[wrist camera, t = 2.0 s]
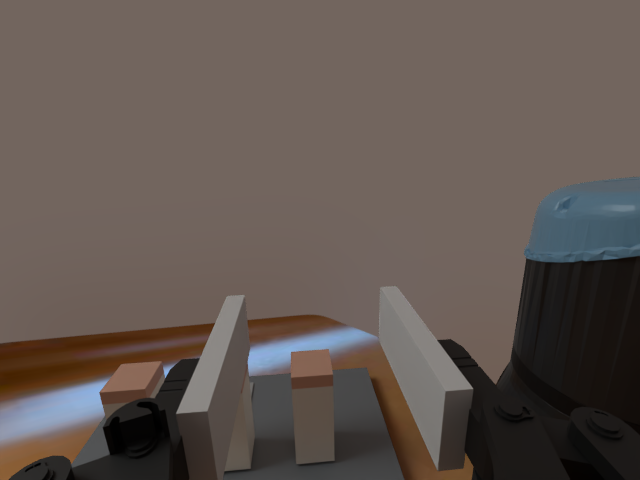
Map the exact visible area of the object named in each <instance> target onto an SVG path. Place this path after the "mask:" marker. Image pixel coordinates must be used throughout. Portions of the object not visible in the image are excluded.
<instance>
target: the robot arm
mask: <svg viewBox="0 0 640 480" xmlns="http://www.w3.org/2000/svg"><path fill="white" fill-rule="evenodd" d="M524 255H525V256H526V265H525V272H524V278H523V284H522V291H521V298H520V304H519V311H518V317H517V323H516V329H515V335H514V342H513V348H512V354H511V360H510V362H509V364H508V365H507V367H506V368H505V370H504V371H503V373H502V375H501V376H500V378H499V380H498V382H497V384H496V385H495V384H494V383H493V382H492V380H491V379H490V378H489V377H488V376H487V375H486V373H485V372H484V371H483V370H482V369H481V367H478V364H477V363H476V362H475V360H474V359H472V358H471V356H470V355H469V353H468V352H467V351H466V350H465V349H464V348H463V347H462V346H461V345H459V344H457V343H456V342H454V341H453V340H451V339H448V340H436V338H435V337H434V336H433V334H432V333H431V332H430V330H429V329H428V328H427V326H426V325H425V324H424V322H423V321H422V320H421V318H420V317H419V316H418V314H417V313H416V312H415V310H414V309H413V308H412V306H411V305H410V303H409V302H408V301H407V300H406V298H405V297H404V296H403V294H402V293H401V291H400V290H399V289H398V287H397V286H390V287H380V311H379V341H380V344H381V346H382V348H383V350H384V353H385V355H386V357H387V359H388V361H389V364H390V366H391V368H392V370H393V373H394V375H395V377H396V379H397V382H398V384H399V386H400V388H401V390H402V393H403V395H404V397H405V399H406V402H407V404H408V406H409V408H410V411H411V413H412V415H413V417H414V419H415V422H416V424H417V426H418V428H419V431H420V433H421V435H422V437H423V440H424V442H425V444H426V446H427V448H428V451H429V453H430V455H431V457H432V460H433V462H434V464H435V466H436V468H437V471H443V470H453V469H463V468H464V460H465V452H466V454H467V456H468V458H469V459H470V461H471V463H472V465H473V466H474V468H473V475H472V480H640V177H630V178H619V179H609V180H601V181H593V182H586V183H580V184H574V185H570V186H566V187H563V188H560V189H558V190H556V191H554V192H552V193H550V194H549V195H548V196H546V197H545V198H544V199H543V200H542V201H541V203H540V204H539V206H538V208H537V211H536V215H535V219H534V223H533V228H532V232H531V236H530V240H529V244H528V245H527V246H526V248H525V251H524ZM249 351H250V343H249V333H248V323H247V313H246V303H245V295H237V296H227V298H226V300H225V302H224V305H223V307H222V309H221V312H220V314H219V316H218V319H217V321H216V323H215V325H214V328H213V330H212V332H211V335H210V337H209V339H208V341H207V344H206V346H205V348H204V351H203V353H202V355H201V357H200V358H197V359H183V360H181V361H179V362H178V363H177V364H176V365H175V366H174V367H173V368H172V369H170V371H169V373H168V375H167V376H166V378H165V380H164V383H163V384H162V386H161V387H160V389H159V393H157V395H156V396H155V398H143V399H137V400H135V401H132V402H130V403H127V404H125V405H124V406H122V407H120V408H119V409H117V410H116V411H115V412H114V413H113V414H112V415H111V416H110V417H109V418H108V419H107V420H106V422H105V424H104V426H103V431H104V435H105V438H106V442H107V446H108V450H109V453H110V454H109V455H106V456H104V457H102V458H99V459H96V460H93V461H90V462H88V463H85V464H82V465H79V466H76V467H73V468H72V466H71V463H70V460H69V459H67V458H66V457H64V456H50V457H47V458H43V459H40V460H38V461H36V462H34V463H32V464H30V465H28V466H26V467H24V468H23V469H21V470H20V471H19V472H17V473H16V474H14V475H13V476H12V477H11V478H10V479H9V480H223V475H224V471H225V466H226V461H227V456H228V451H229V447H230V442H231V437H232V432H233V428H234V423H235V418H236V413H237V408H238V404H239V399H240V394H241V389H242V385H243V380H244V375H245V370H246V365H247V361H248V356H249Z"/></svg>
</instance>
